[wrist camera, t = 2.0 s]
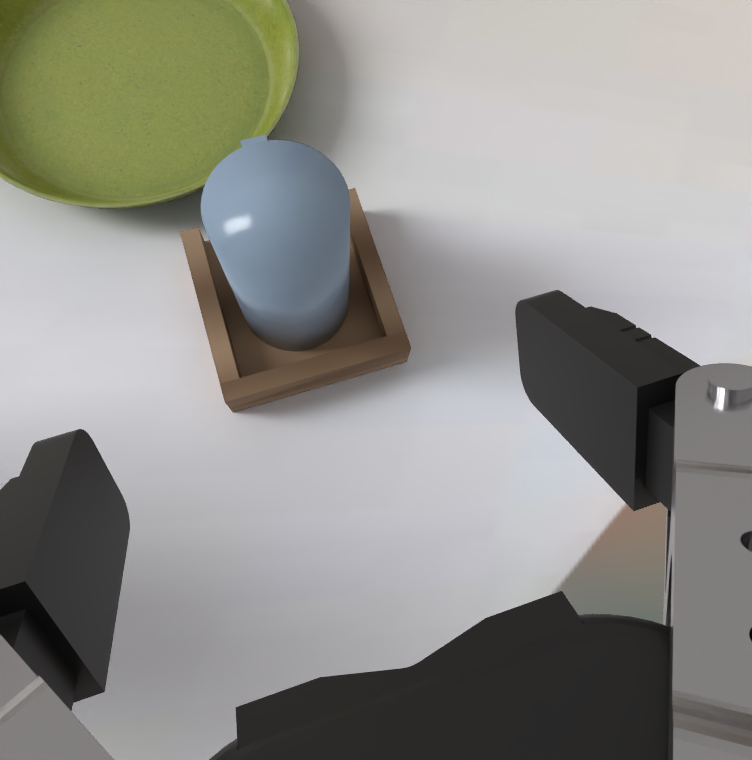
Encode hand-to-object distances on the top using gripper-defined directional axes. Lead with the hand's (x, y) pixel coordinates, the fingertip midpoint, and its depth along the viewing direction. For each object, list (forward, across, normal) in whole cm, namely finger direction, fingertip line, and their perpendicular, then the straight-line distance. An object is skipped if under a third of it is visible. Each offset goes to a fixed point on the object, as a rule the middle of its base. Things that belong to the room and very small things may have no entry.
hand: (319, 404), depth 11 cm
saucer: (+36, +5, -5) cm, 36 cm away
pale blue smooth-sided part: (+23, -1, +7) cm, 24 cm away
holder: (+23, -1, +7) cm, 24 cm away
